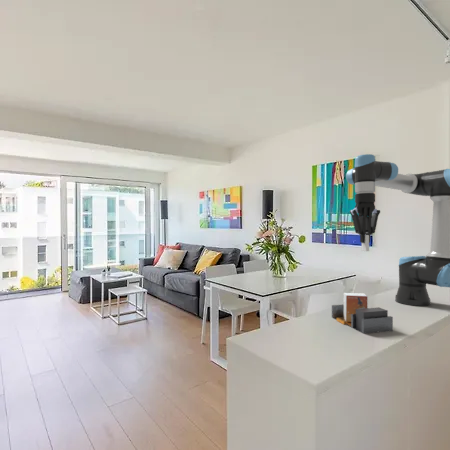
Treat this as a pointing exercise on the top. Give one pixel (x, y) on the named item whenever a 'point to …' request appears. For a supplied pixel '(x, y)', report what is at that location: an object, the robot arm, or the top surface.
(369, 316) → the dark grey box
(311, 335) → the top surface
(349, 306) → the small box
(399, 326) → the top surface
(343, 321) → the rack
